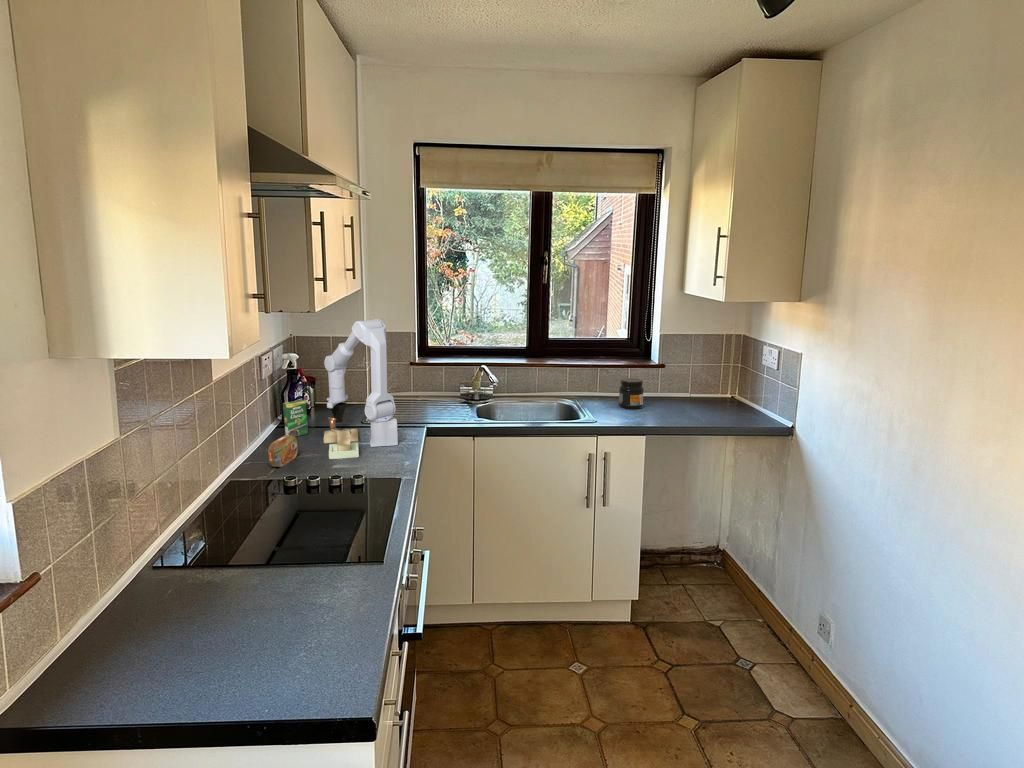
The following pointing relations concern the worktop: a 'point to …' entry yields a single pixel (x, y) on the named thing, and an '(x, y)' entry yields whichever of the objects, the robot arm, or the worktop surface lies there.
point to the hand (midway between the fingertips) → (338, 422)
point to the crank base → (332, 436)
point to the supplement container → (631, 393)
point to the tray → (343, 454)
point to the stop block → (343, 440)
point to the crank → (333, 428)
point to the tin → (283, 450)
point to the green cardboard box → (295, 418)
